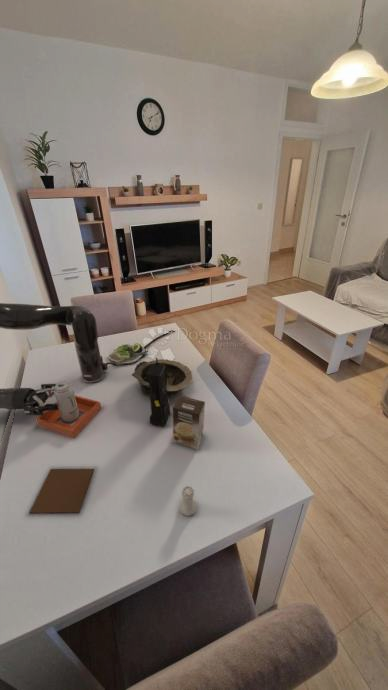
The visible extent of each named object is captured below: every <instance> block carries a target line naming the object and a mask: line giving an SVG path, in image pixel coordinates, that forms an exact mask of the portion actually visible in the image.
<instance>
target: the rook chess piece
mask: <svg viewBox="0 0 388 690" xmlns="http://www.w3.org/2000/svg"><path fill="white" fill-rule="evenodd" d="M181 496H182V499H181V501H180V503H179V512H180V513H181V514H182V515H184V516H187V517H188V516H189V517H190V516H192V515H193V514H195V513H196V510H197V504H196V501H195V500H194V499H193V498H194V496H195V490H194V488H193V487H192V486H191V485H189V486H188V485H185V487H183V488H182V490H181Z"/></svg>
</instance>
